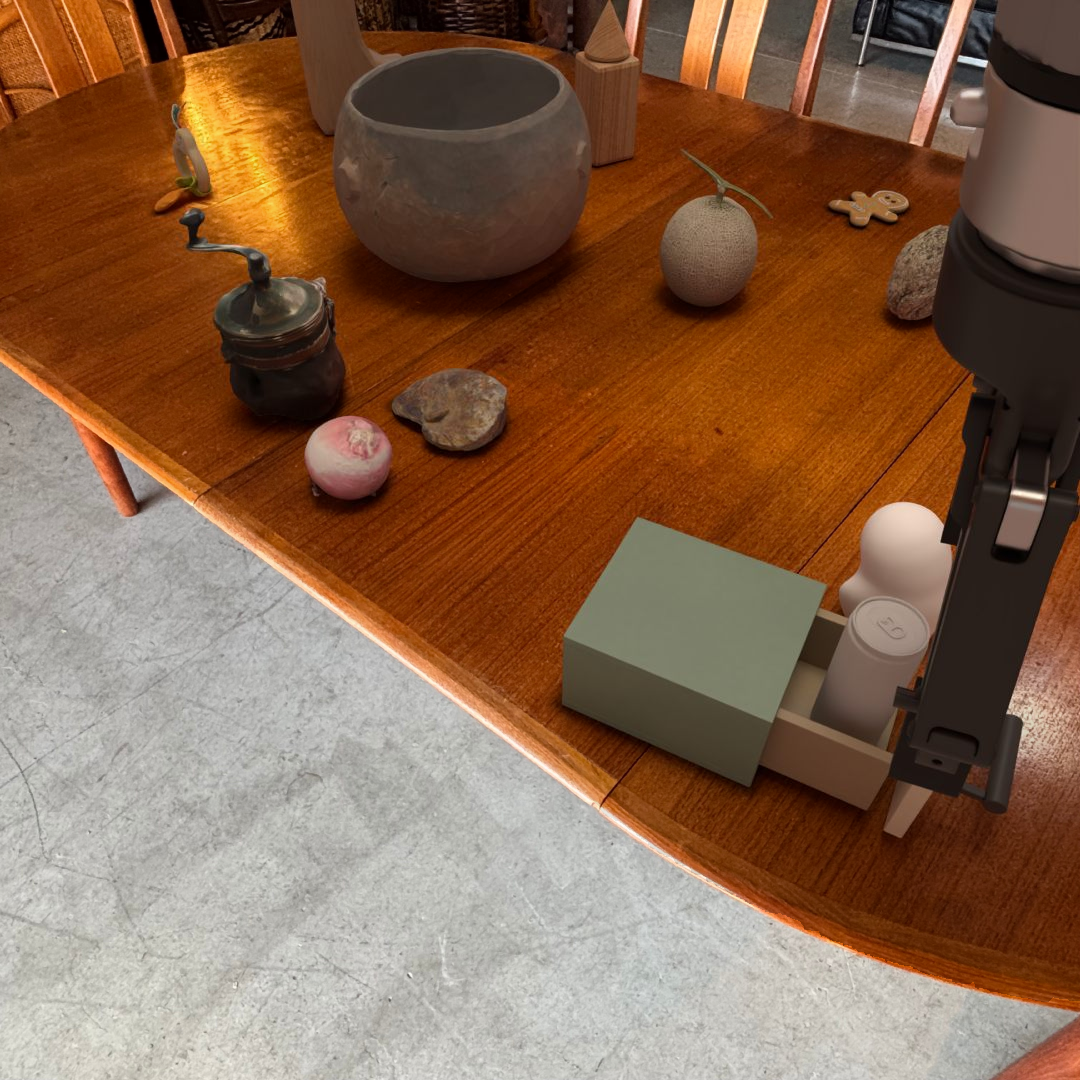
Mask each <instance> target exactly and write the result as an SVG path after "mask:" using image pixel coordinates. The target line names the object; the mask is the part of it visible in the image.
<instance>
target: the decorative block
mask: <svg viewBox="0 0 1080 1080" xmlns="http://www.w3.org/2000/svg"><path fill="white" fill-rule="evenodd" d="M290 4H291V11H292V15H293V21H294V26H295V32H296V37H297V41H298V42H297V43H298V47H299V53H300V58H301V63H302V68H303V74H304V78H305V84H306V90H307V95H308V100H309V106H310V111H311V115H312V118H313V119H314V121H315V122H316V123H317V125H318V126H319V128H320V129H321V131H322V132H323V134H324V135H325V136H332V135H333V136H334V135H335V130H336V125H337V121H338V116H339V112H340V109H341V106H342V104H343V101H344V99H345V96H346V94H347V92H348V90H349V89H350V88H351V86H352V85H353V84H354V83H355V82H356V81H357V80H358V79H359V78H361V77H362V76H363V75H364V74H366V73H367V72H369V71H371V70H372V69H374V68H375V67H377V66H379V65H381V64H383V63H386V62H388V61H390V60H393V59H397V58H400V57H403V55H402V54H401V53H397V52H393V53H387V54H380V53H379V52H377V51H375V50H373V49H371V48H370V47H367V45H366V43H365V42H364V40H363V36H362V31H361V28H360V24H359V20H358V16H357V15H358V14H357V10H356V9H357V8H356V3H355V0H290Z"/></svg>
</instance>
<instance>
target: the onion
mask: <svg viewBox="0 0 1080 1080" xmlns="http://www.w3.org/2000/svg"><path fill="white" fill-rule="evenodd" d="M303 457H304V460H305V466H306V469H307V472H308V473H309V475H310V479H311V483H312V485H313V487H311V490H312V493H313V495H314V496H315V497H320V496H321V495H322V494H325V493H326V494H327V495H328V496H331V497H334V498H335V499H341V500H348V501H355V500H359V499H360V500H361V499H363V498H366V497H368V496H372V497H377V495H376V494H377V493H376V491H378V490H379V489H380V488H381V487H382V485H384V484H385V482H386V480H387V478H388V476H389V473H390V469H391V466H392V465H391V464H392V461H393V460H392V459H393V449H392V445H391V442H390V440H389V438H388V436H387V434H386V433H385V432H384V431H383V430H382V428H381V427H379V426H378V425H377V424H376V423H374V422H373V421H371V420H369V419H368V418H365V417H361V416H358V415H357V416H356V415H345V416H340V417H336V418H333V419H330V420H328V421H326V422H324V423H322V424H321V425H320V426H319V427H317V428H316V429H315V430H314V431H313V432H312V434H311V435H310V437H309V438H308V441H307V443H306V446H305V449H304V456H303ZM316 485H317V486H318V487H319V488H320V489H321V490H320V489H318V487H317V486H316ZM324 492H325V493H324Z"/></svg>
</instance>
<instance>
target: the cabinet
mask: <svg viewBox="0 0 1080 1080" xmlns="http://www.w3.org/2000/svg"><path fill="white" fill-rule="evenodd" d="M827 588H828V584H826V583H824V582H822V581H819V580H816V579H813V578H810V577H807V576H805V575H802V574H798V573H796V572H793V571H790V570H788V569H784V568H782V567H780V566H776V565H775V564H771V563H769V562H765V561H762V560H759V559H757V558H754V557H751V556H748V555H746V554H743V553H740V552H737V551H735V550H732V549H728V548H727V547H726V548H725V547H723V546H720V545H717V544H715V543H712V542H710V541H707V540H704V539H702V538H698V537H695V536H693V535H690V534H687V533H684V532H682V531H679V530H676V529H673V528H670V527H667V526H665V525H662V524H659V523H656V522H654V521H650V520H648V519H645V518H642V517H639V516H636V518H635V520H634V521H633V523H632V524H631V527H630V528H629V529H628V531H627V532H626V534H625V536H624V537H623V539H622V541H621V542H620V544H619V545H618V547H617V549H616V551H615V552H614V554H613V555H612V557H611V558H610V560H609V561H608V563H607V565H606V566H605V568H604V570H603V571H602V573H601V575H600V576H599V578H598V579H597V581H596V582H595V584H594V586H593V587H592V589H591V591H590V592H589V594H588V595H587V597H586V598H585V600H584V601H583V603H582V605H581V606H580V608H579V610H578V611H577V613H576V614H575V616H574V617H573V619H572V621H571V623H570V625H569V626H568V627H567V629H566V630H565V632H564V634H563V636H562V681H561V682H562V684H561V685H562V687H561V688H562V689H561V691H562V692H561V705H562V706H564V707H566V708H569V709H571V710H573V711H574V712H575V711H576V712H578V713H580V714H583V715H584V716H586V717H589V718H591V719H593V720H596V721H598V722H600V723H603V724H604V725H607V726H609V727H611V728H613V729H616V730H619V731H621V732H623V733H625V734H628V735H629V736H631V737H634V738H637V739H639V740H640V741H642V742H646V743H647V744H649V745H652V746H653V747H654V746H655V747H657V748H658V749H661V750H662V751H663V750H664V751H666V752H668V753H670V754H673V755H675V756H676V757H679V758H681V759H684V760H686V761H688V762H690V763H693V764H695V765H697V766H699V767H702V768H704V769H706V770H709V771H711V772H713V773H716V774H718V775H720V776H722V777H724V778H727V779H729V780H731V781H734V782H736V783H739V784H741V785H743V786H745V787H747V788H751V786H752V784H753V781H754V779H755V775H756V773H757V771H758V768H759V765H760V764H759V761H760V758H761V756H762V753H763V750H764V747H765V744H766V741H767V739H768V736H769V733H770V730H771V727H772V724H773V721H774V719H775V716H776V714H777V711H778V709H779V706H780V704H781V701H782V699H783V696H784V694H785V691H786V689H787V686H788V684H789V681H790V679H791V676H792V674H793V671H794V669H795V666H796V663H797V661H798V658H799V656H800V653H801V651H802V648H803V646H804V643H805V641H806V638H807V636H808V633H809V631H810V628H811V626H812V623H813V621H814V618H815V616H816V613H817V611H818V608H821V604H822V601H823V599H824V597H825V593H826V590H827Z"/></svg>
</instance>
